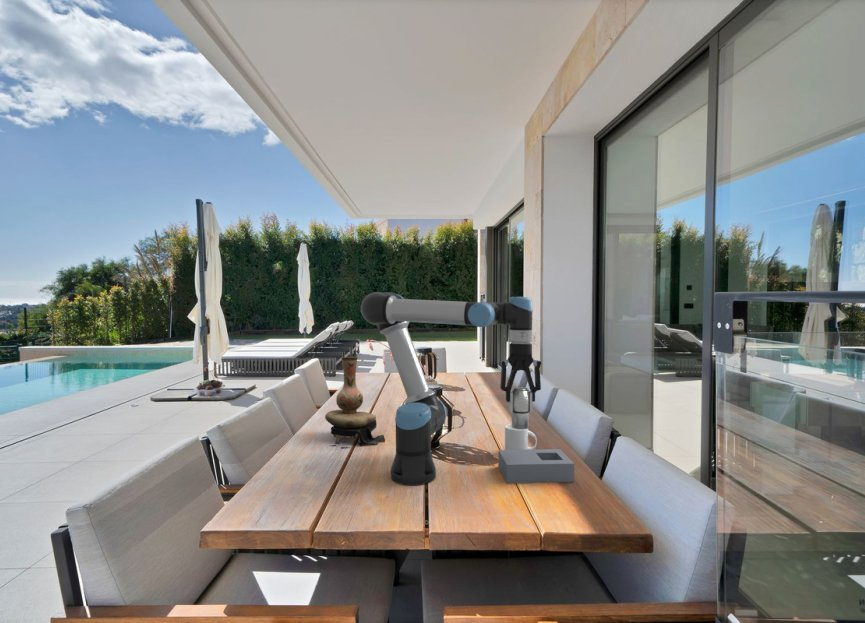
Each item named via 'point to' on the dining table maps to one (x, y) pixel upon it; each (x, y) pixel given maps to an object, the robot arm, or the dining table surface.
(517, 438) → the mug
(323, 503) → the dining table surface
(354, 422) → the vase
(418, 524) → the dining table surface
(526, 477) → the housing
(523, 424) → the silver can
